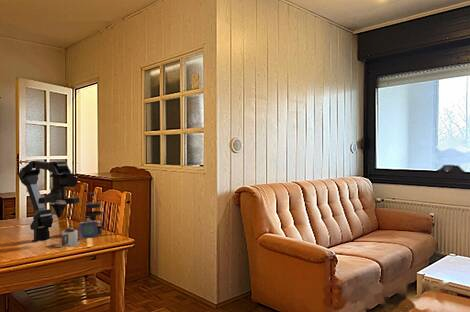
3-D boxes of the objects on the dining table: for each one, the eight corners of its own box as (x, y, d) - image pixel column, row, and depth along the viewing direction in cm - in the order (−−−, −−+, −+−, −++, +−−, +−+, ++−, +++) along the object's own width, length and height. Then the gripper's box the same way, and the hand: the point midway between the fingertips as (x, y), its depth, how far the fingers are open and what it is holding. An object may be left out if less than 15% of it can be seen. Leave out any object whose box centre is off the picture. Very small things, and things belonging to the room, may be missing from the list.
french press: (83, 236, 193) (83, 193, 193) (82, 233, 202) (81, 192, 201) (106, 233, 199) (106, 192, 199) (104, 230, 207) (103, 191, 207)
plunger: (63, 241, 172) (63, 228, 172) (68, 239, 176) (67, 227, 176) (71, 241, 172) (70, 228, 172) (75, 239, 176) (75, 227, 176)
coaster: (53, 247, 170) (53, 246, 170) (66, 242, 180) (65, 241, 180) (73, 248, 169) (73, 246, 169) (84, 242, 179) (84, 241, 179)
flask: (79, 240, 184) (79, 219, 184) (78, 239, 187) (78, 218, 187) (98, 238, 189) (97, 217, 189) (97, 237, 191) (96, 217, 191)
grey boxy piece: (55, 246, 169) (55, 233, 169) (67, 242, 178) (66, 229, 178) (69, 247, 168) (69, 233, 168) (80, 242, 177) (79, 229, 177)
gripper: (30, 187, 172) (30, 220, 172) (66, 188, 170) (67, 221, 170) (45, 185, 183) (45, 216, 183) (79, 186, 181) (79, 216, 181)
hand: (58, 217), depth 179 cm, fingers closed
